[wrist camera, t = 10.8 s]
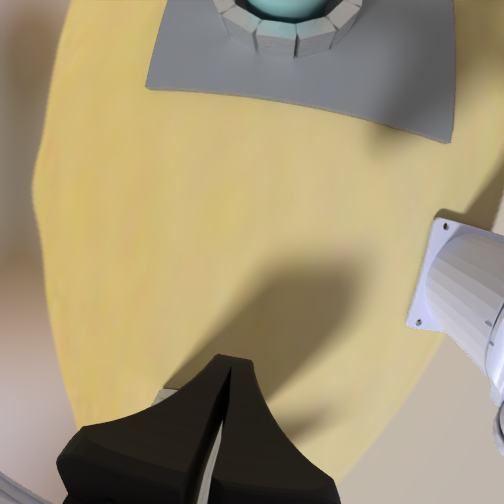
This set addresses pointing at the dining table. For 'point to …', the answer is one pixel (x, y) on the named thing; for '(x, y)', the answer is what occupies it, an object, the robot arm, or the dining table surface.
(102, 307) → the dining table surface
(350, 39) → the board
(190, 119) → the dining table surface
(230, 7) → the grey segmented ring
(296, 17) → the plug
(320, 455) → the dining table surface
